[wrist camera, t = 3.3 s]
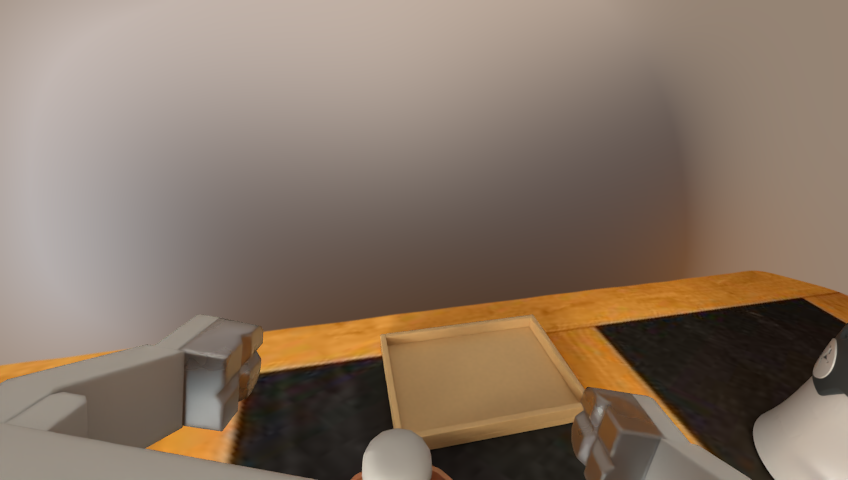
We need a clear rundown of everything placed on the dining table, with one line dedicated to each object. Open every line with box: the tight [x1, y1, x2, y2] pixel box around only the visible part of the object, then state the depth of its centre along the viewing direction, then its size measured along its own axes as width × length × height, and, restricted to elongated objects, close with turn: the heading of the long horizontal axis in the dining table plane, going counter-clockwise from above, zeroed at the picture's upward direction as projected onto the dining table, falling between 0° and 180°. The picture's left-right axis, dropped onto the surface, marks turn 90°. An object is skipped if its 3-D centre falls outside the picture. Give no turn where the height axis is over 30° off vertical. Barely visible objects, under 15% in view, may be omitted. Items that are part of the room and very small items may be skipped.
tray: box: [380, 315, 585, 450], centre depth 44 cm, size 20×14×2 cm
